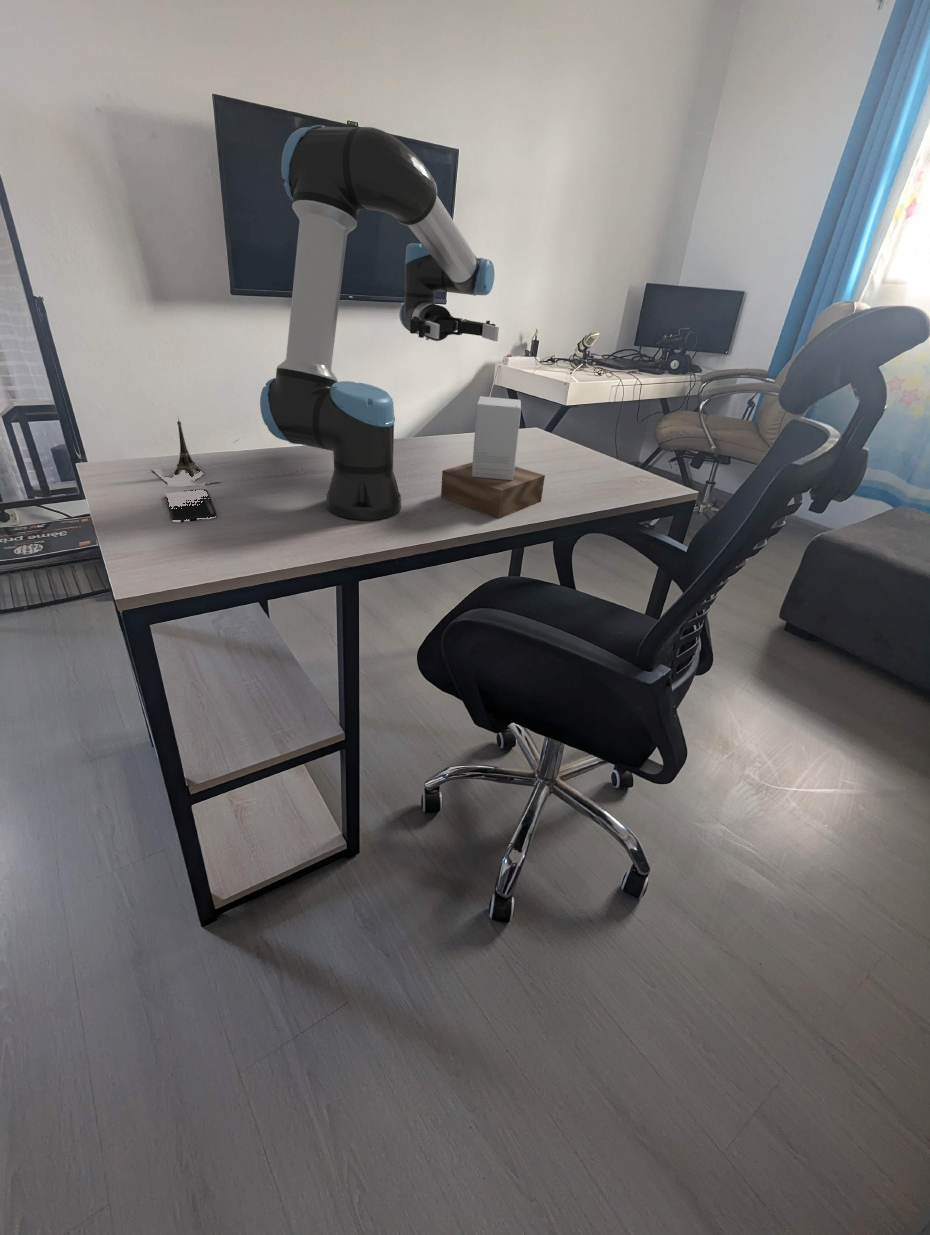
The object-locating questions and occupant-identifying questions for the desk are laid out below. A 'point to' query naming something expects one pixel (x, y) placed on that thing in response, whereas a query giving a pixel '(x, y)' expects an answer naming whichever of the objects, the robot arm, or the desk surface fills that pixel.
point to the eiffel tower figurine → (185, 456)
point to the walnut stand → (492, 490)
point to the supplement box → (496, 437)
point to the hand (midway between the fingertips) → (467, 333)
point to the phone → (193, 509)
